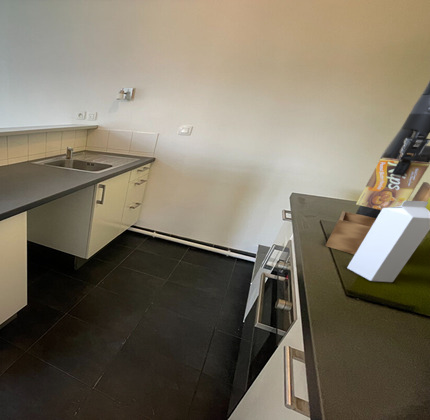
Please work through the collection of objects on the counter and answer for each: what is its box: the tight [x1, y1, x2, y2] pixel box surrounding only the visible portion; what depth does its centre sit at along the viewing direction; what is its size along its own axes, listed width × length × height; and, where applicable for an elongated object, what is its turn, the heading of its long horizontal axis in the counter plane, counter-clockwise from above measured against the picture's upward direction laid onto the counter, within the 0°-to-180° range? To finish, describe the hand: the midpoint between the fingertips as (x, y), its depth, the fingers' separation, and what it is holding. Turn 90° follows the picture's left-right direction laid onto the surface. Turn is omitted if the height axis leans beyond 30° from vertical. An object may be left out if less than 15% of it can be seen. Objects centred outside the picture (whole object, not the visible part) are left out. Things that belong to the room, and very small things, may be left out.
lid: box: [411, 181, 430, 202], centre depth 70 cm, size 13×15×5 cm
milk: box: [346, 200, 430, 283], centre depth 64 cm, size 6×6×22 cm
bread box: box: [325, 210, 377, 256], centre depth 81 cm, size 13×15×10 cm
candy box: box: [355, 158, 430, 210], centre depth 75 cm, size 9×4×15 cm, turn 34°
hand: (397, 173), depth 73 cm, fingers closed on candy box, 4 cm apart
